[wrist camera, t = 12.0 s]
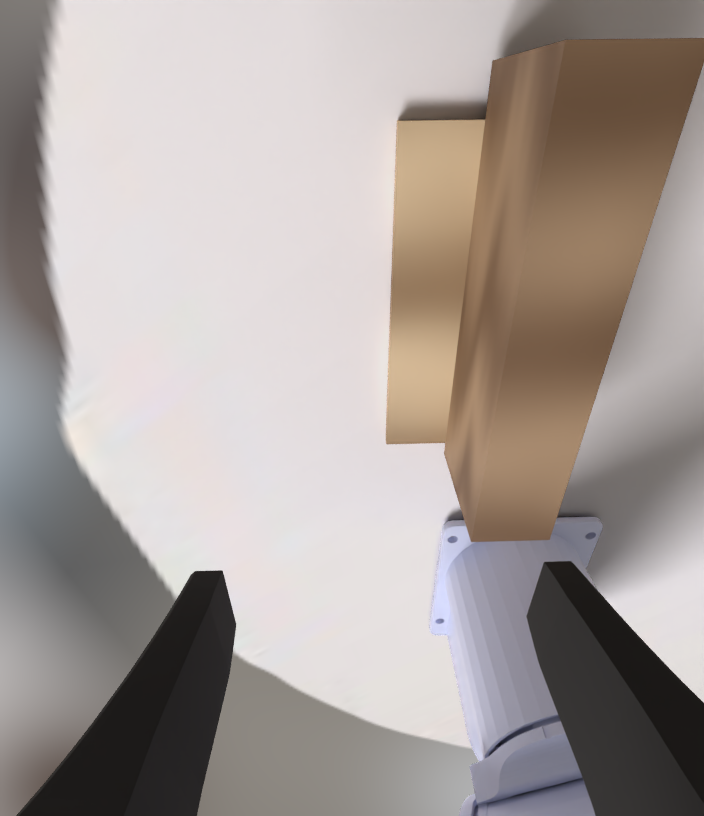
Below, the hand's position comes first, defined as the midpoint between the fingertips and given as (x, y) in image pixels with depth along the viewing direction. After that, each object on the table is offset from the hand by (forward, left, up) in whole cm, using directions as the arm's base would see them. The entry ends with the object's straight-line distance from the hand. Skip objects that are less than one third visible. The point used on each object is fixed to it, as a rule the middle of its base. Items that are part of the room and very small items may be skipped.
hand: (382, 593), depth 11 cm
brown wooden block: (+3, -5, -10) cm, 11 cm away
